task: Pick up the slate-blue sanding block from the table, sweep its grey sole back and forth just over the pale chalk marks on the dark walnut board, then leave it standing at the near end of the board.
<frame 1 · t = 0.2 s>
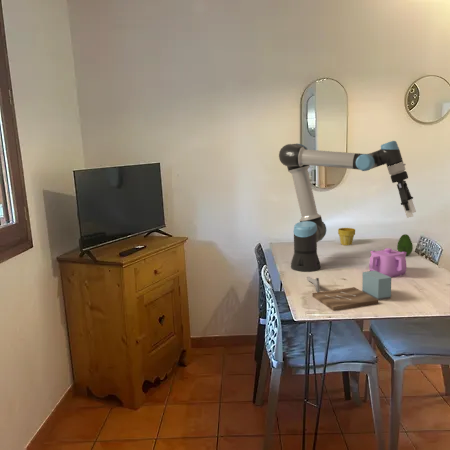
hand: (411, 214, 206), 28 cm above the table, tool tilted 20°, fingers open, 13 cm apart
plant pot: (346, 244, 271), on the table
caliper: (312, 285, 195), on the table
avocado: (404, 255, 239), on the table
sanding block: (376, 295, 179), on the table
pink lidded pot: (387, 273, 209), on the table
board: (344, 299, 175), on the table
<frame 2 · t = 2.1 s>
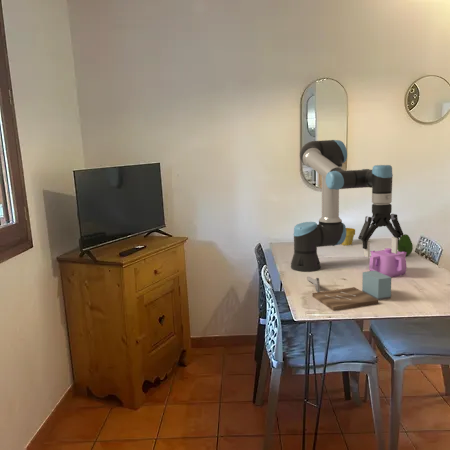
hand: (380, 254, 177), 17 cm above the table, tool pointing down, fingers open, 13 cm apart
nothing on the table moved.
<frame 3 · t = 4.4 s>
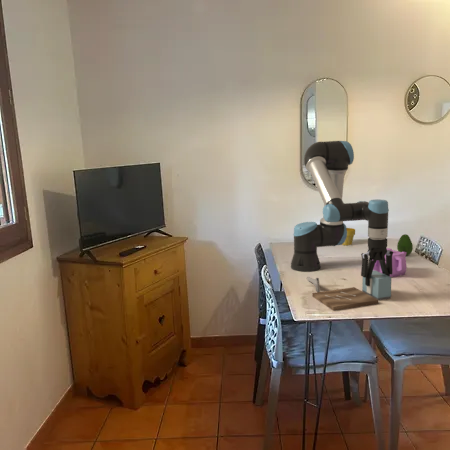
hand: (376, 291, 179), 1 cm above the table, tool pointing down, fingers closed on sanding block, 6 cm apart
sanding block: (376, 295, 179), on the table, touching gripper
everything else where it was.
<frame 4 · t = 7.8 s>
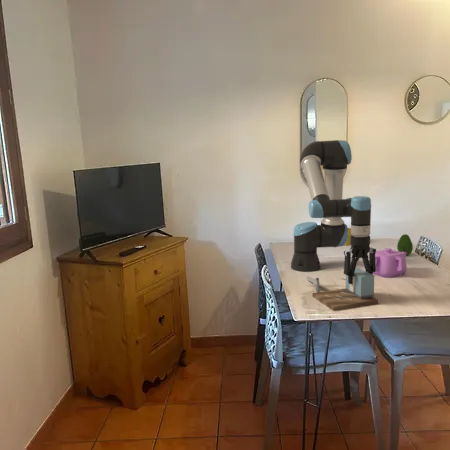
hand: (359, 289, 176), 3 cm above the table, tool pointing down, fingers closed on sanding block, 6 cm apart
sanding block: (359, 293, 176), point 2 cm above the table, touching gripper
everything else where it was.
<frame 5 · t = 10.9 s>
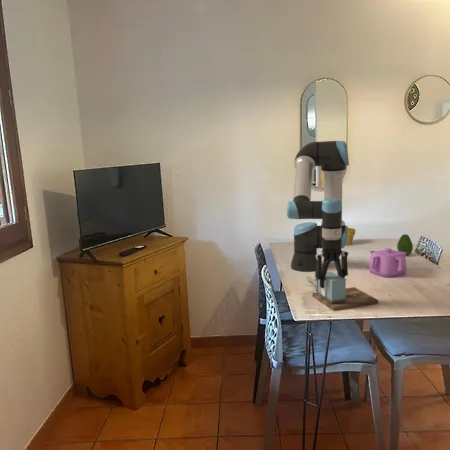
hand: (331, 294, 173), 3 cm above the table, tool pointing down, fingers closed on sanding block, 6 cm apart
sanding block: (331, 297, 173), point 2 cm above the table, touching gripper
everything else where it was.
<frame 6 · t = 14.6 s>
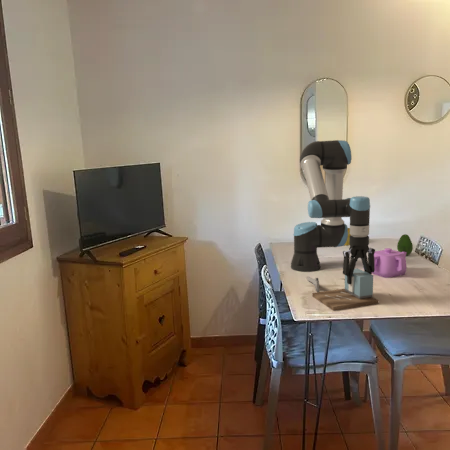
hand: (358, 290, 176), 3 cm above the table, tool pointing down, fingers closed on sanding block, 6 cm apart
sanding block: (358, 293, 176), point 2 cm above the table, touching gripper
everything else where it was.
when the fingers open (3 cm above the table, at t = 17.8 s): sanding block stays where it is, resting on board.
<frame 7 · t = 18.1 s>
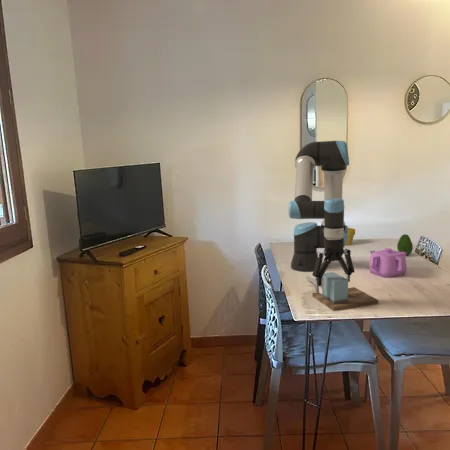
hand: (333, 291, 173), 4 cm above the table, tool pointing down, fingers open, 10 cm apart
sanding block: (333, 297, 173), point 2 cm above the table, touching board
everything else where it was.
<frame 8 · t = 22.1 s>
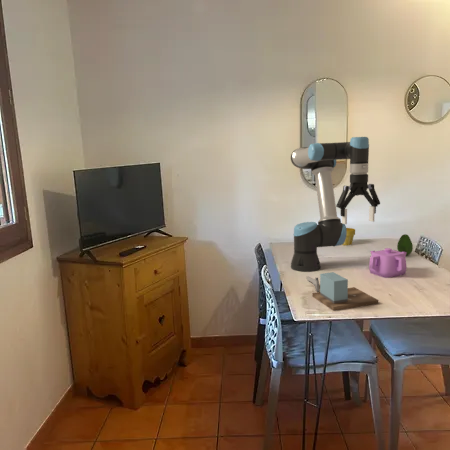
hand: (358, 222, 187), 29 cm above the table, tool pointing down, fingers open, 13 cm apart
nothing on the table moved.
at the end: sanding block inside the target area on the board (0.5 cm from its centre), point 1.5 cm above the board's base; the gripper is holding nothing; sanding block tilted 0° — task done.
